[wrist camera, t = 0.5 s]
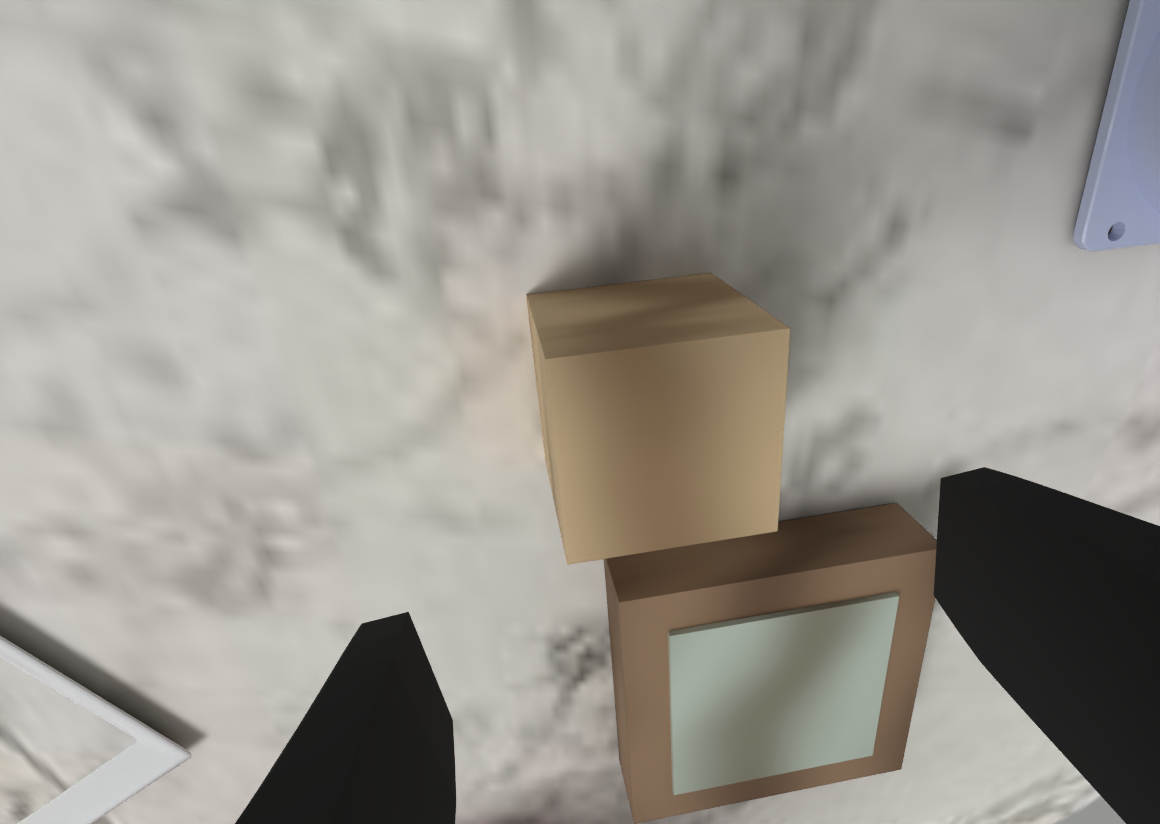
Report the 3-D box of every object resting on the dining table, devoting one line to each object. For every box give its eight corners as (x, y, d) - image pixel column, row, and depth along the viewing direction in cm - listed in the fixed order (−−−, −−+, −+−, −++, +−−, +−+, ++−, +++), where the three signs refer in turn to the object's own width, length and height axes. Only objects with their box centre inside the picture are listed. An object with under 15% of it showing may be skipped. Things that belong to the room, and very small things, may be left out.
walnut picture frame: (896, 502, 22) (949, 551, 20) (864, 712, 26) (904, 774, 24) (603, 549, 21) (620, 607, 19) (619, 760, 25) (635, 829, 23)
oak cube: (709, 272, 18) (790, 328, 13) (708, 435, 20) (777, 531, 15) (525, 293, 17) (545, 359, 13) (545, 459, 19) (567, 564, 15)
